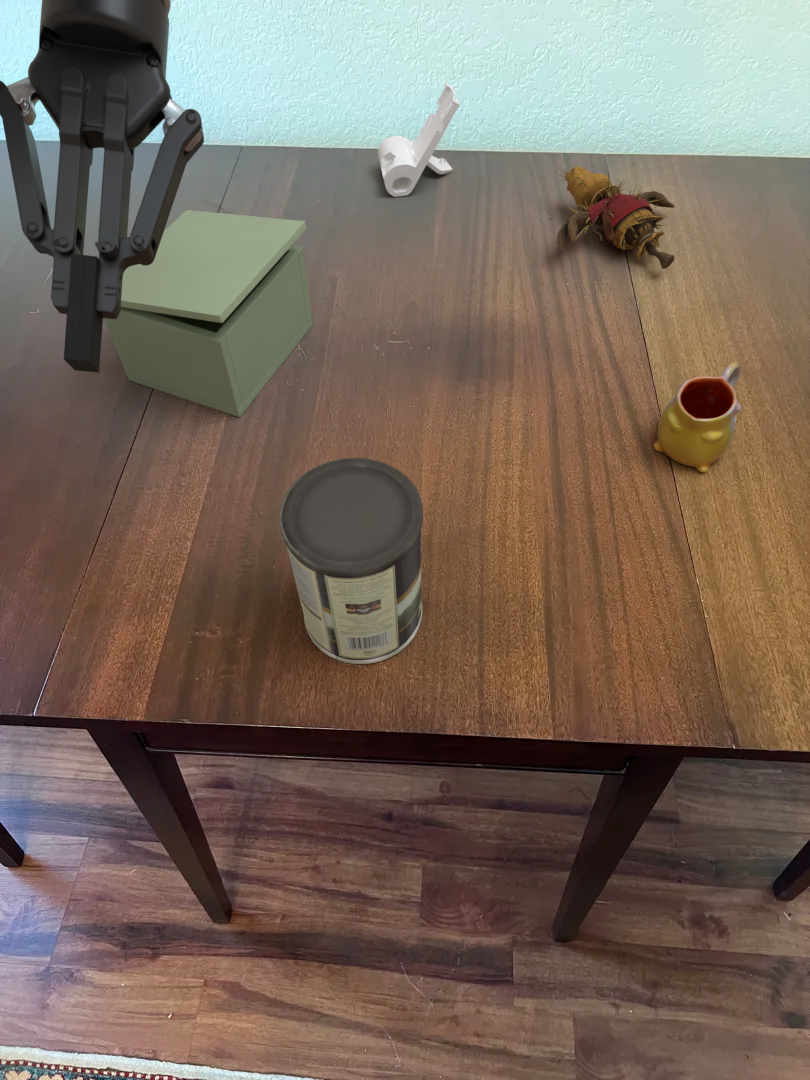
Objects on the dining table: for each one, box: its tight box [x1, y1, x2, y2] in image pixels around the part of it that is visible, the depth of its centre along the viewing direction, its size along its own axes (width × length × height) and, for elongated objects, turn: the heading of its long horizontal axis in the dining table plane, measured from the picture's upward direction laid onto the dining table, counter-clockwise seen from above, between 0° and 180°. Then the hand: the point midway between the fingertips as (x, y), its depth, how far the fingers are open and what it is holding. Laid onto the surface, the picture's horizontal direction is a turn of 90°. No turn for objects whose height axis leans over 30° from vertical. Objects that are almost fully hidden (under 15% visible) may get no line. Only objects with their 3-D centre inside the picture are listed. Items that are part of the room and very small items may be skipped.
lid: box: [121, 209, 308, 323], centre depth 77 cm, size 15×16×1 cm
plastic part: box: [377, 82, 460, 198], centre depth 102 cm, size 8×10×12 cm
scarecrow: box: [546, 161, 676, 270], centre depth 95 cm, size 17×16×8 cm
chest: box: [103, 244, 314, 418], centre depth 82 cm, size 14×16×10 cm
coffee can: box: [278, 457, 424, 665], centre depth 61 cm, size 10×10×14 cm
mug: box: [653, 361, 742, 474], centre depth 76 cm, size 12×7×7 cm, turn 139°
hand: (81, 365), depth 48 cm, fingers closed
